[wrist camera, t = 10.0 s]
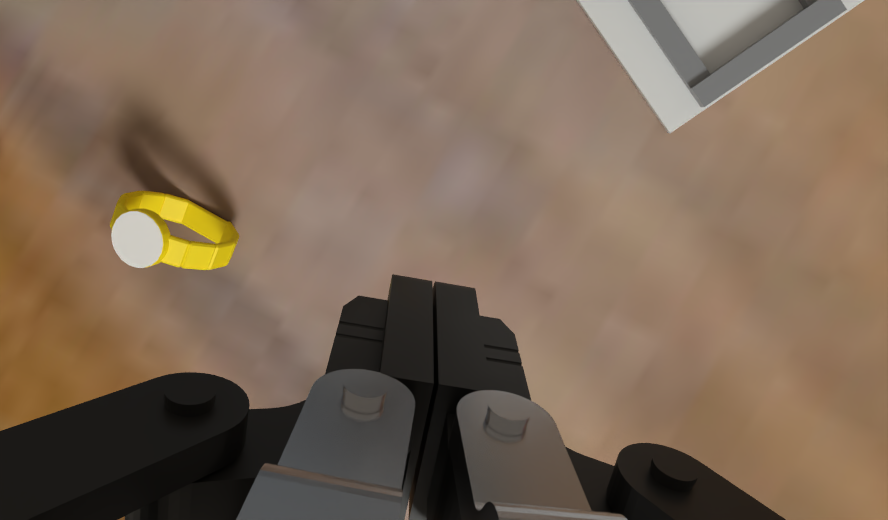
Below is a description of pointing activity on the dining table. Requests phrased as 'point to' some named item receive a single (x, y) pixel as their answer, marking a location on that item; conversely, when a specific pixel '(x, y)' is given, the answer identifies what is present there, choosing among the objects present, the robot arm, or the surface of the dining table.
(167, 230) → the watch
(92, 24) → the dining table surface
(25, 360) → the dining table surface
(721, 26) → the fader console
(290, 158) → the dining table surface
